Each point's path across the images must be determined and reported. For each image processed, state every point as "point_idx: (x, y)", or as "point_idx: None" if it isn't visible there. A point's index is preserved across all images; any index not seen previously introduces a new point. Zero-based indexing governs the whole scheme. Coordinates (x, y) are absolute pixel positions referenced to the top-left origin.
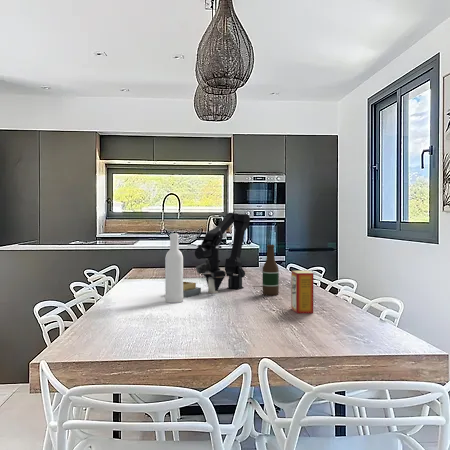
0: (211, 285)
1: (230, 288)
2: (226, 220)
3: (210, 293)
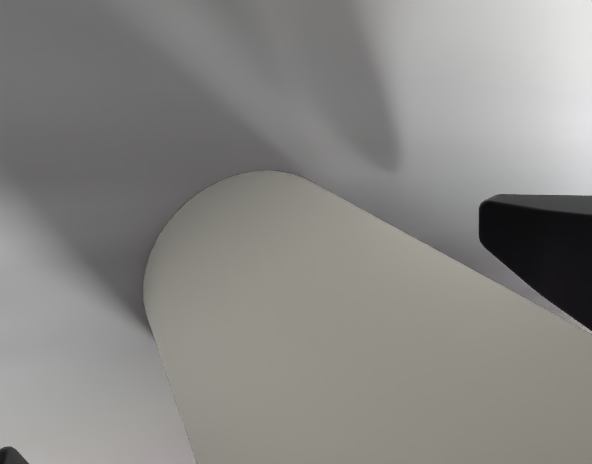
0: (221, 411)
1: None
2: None
3: (164, 229)
